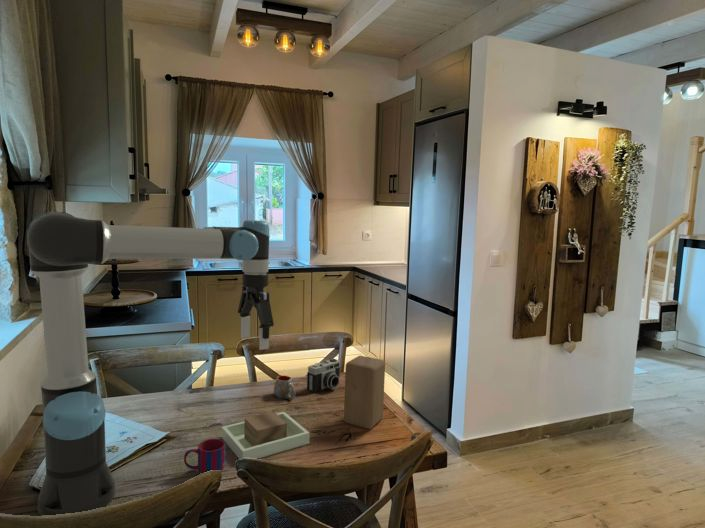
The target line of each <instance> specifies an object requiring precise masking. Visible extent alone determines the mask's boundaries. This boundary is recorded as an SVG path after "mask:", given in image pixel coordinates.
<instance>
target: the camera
mask: <svg viewBox="0 0 705 528" xmlns="http://www.w3.org/2000/svg"><path fill="white" fill-rule="evenodd" d="M307 368H308V369H307V370H308V371H307V372H306V373H307V374H306V375H307V377H306V379H307V380H306V381H307V382H306V390H307V391H308V392H310V393H313V394H317V393H320V392H322V391H324V390H327V389H335V388H337V387H338V386H339V385H340V372H341V371H340V369H341V361H340V360H339V359H335V358H331V359H328V360H324V362H323V361H320V362H315V363H314V364H311V365H309V366H308V367H307Z"/></svg>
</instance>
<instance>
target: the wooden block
mask: <svg viewBox="0 0 705 528" xmlns="http://www.w3.org/2000/svg"><path fill="white" fill-rule="evenodd" d="M385 374H386V361H385V360H383V359H380V358H375V357H370V356H365V355H364V356H363V355H358V356H356V357H354V358H353V359H351V360H348V361H347V362H346V364H345V378H344V381H345V382H344V402H343V403H344V407H343V422H344V423H347V424H349V425H353V426H357V427H360V428H364V429H368V430H371V429H372V428H374V427H375V426H376V425H377V424H378V423H379V422H380V421H381V420H382V419H383V417H384V400H385V399H384V396H385V395H384V394H385V380H386V379H385V376H386V375H385Z"/></svg>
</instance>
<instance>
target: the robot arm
mask: <svg viewBox="0 0 705 528" xmlns="http://www.w3.org/2000/svg"><path fill="white" fill-rule="evenodd" d="M270 237H271V236H270V225H269V222H267V221H266V220H257V219H256V220H253V219H252V220H250V219H248V220H244V221H243V224H242V226H238V227H233V226H204V227H203V228H200V227H199V228H198V227H197V228H196V227H195V228H194V227H174V226H173V227H172V226H171V227H170V226H168V227H167V226H145V225H144V226H140V225H118V224H117V225H112V224H107V222H105V221H104V220H101V219H86V218H81V217H76V216H74V215H72V214H70V213H68V212H64V211H56V210H55V211H46V212H44V213H42V214H39V215H38V216H36V217H35V218H34V219H33V220H32V221H31V222H30V224H28V228H27V230H26V241H27V242H26V243H27V247H28V254H29V255H28V256H29V257H28V258H29V267H30V272H31V273H32V274H34V275H35V276H36V277H38V279H39V280H38V281H39V288H40V290H39V291H40V301H41V302H40V303H41V312H42V313H41V314H42V324H43V336H44V346H45V359H46V361H45V362H46V371H47V376H46V377H44V379H43V380H41V383H40V389H41V400H42V401H41V403H42V406H41V409H42V413H43V416H42V427H43V435H44V437H43V438H44V454H45V455H44V458H45V459H44V460H45V477H44V479H43V483H42V486H41V489H40V491H39V495H38V498H37V513H38V514H39V516H40V515H56V514H65V513H75V512H82V511H88V510H92V509H96V508H100V507H103V506H104V507H106V506H107V505H109V503H110V502H111V501H112V500H113V499H114V498H115V494H116V482H115V479H114V477H113V474H112V472H111V470H110V468H109V465H108V463H107V459H106V458H107V457H106V425H105V424H106V423H105V421H106V420H105V419H106V407H105V403H104V400H103V399H102V397H101V396H100V395H98V385H97V384H98V383H97V382H98V381H97V373H96V372H94V371H93V370H91V369H89V357H88V356H89V355H88V354H89V353H88V344H87V330H86V315H85V314H86V313H85V305H84V304H85V303H84V302H85V301H84V290H83V280H82V279H83V277H82V276H83V274H84V273H85V272H86V271H87V269H89V265H95V264H96V265H98V264H99V265H100V264H101V265H102V264H104V263H106V262H107V261H108V260H157V259H158V260H162V259H163V260H165V259H166V260H169V259H170V260H171V259H172V260H175V259H176V260H179V259H180V260H182V259H185V260H186V259H187V260H188V259H189V260H190V259H194V260H196V259H206V260H207V259H222V260H223V259H225V260H227V259H228V260H229V259H230V260H231V259H232V260H237V261H242V265H241V266H242V269H241V271H242V272H243V274H242V279H241V280H242V287H241V288H242V289H241V295H240V300H239V304H238V308H237V314H239V316H240V338H241V339H244V338H250V337H251V315H252V314H251V311H252V309H253V307H254V308H255V310H256V313H257V317H258V319H259V323H260V325H259V326H258V328H259V335H258V336H259V337H258V339H259V341H258V343H259V345H258V347H259V348H258V349H259V350H260V351H261V350H269V349H270V328H271V327H274V325H275V323H274V318H273V313H272V312H273V311H272V308H271V303H270V302H271V301H270V293H269V291H268V292H265V291H264V288H267V287H268V286H269V274H268V272H269V265H270V261H269V259H270V258H269V257H270V255H269V253H270ZM104 507H103V508H104Z"/></svg>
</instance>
